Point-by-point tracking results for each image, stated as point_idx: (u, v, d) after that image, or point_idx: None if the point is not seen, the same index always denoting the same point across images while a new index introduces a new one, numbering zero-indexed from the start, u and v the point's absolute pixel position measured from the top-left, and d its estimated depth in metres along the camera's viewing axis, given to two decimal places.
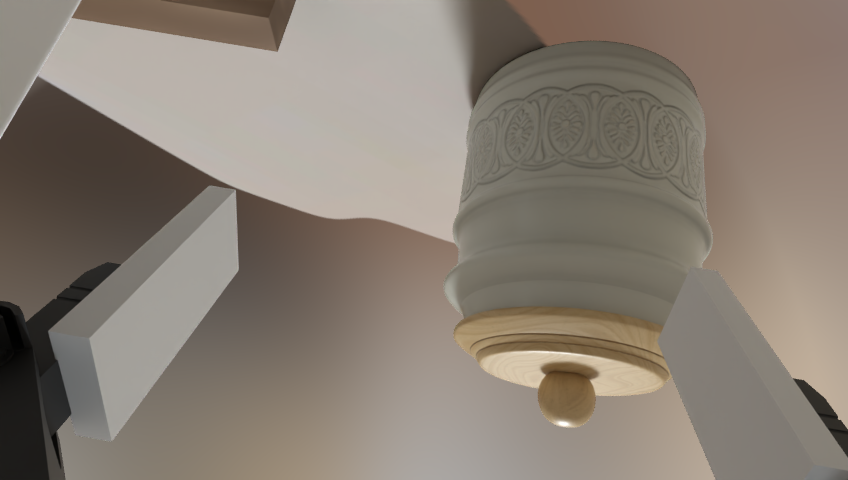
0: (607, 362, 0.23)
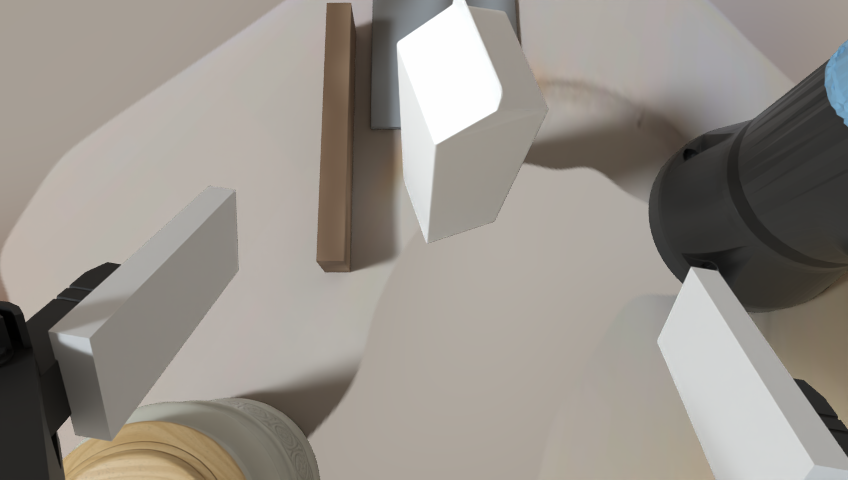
0: None
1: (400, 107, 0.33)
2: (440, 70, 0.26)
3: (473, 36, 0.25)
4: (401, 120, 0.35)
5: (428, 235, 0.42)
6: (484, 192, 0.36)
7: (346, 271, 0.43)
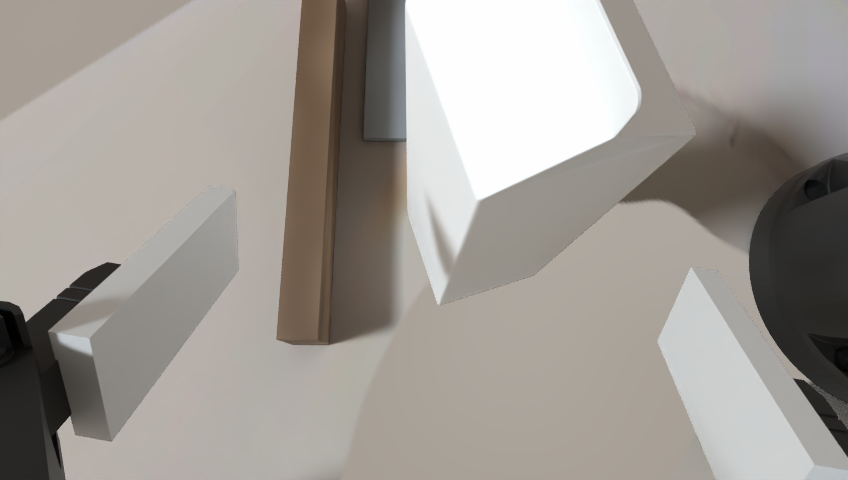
0: None
1: (407, 116, 0.20)
2: (490, 52, 0.13)
3: None
4: (408, 136, 0.22)
5: (442, 299, 0.29)
6: (535, 250, 0.23)
7: (323, 344, 0.30)
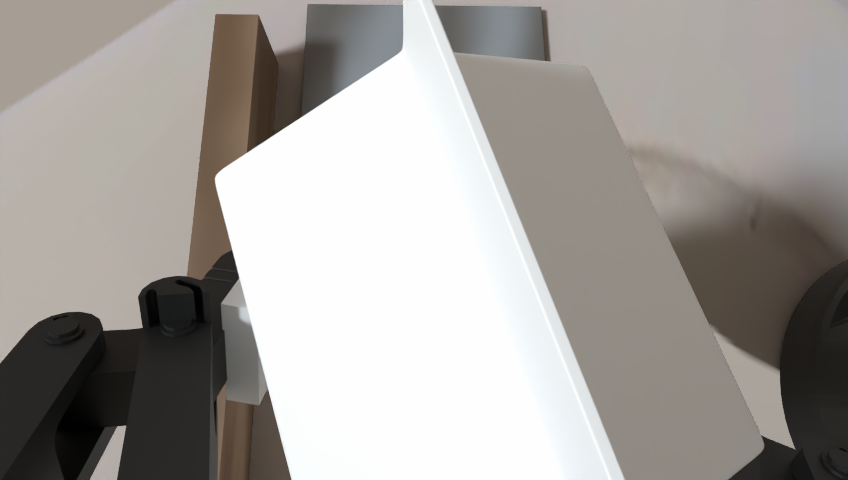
0: None
1: None
2: (352, 313, 0.07)
3: (491, 222, 0.05)
4: None
5: None
6: None
7: None
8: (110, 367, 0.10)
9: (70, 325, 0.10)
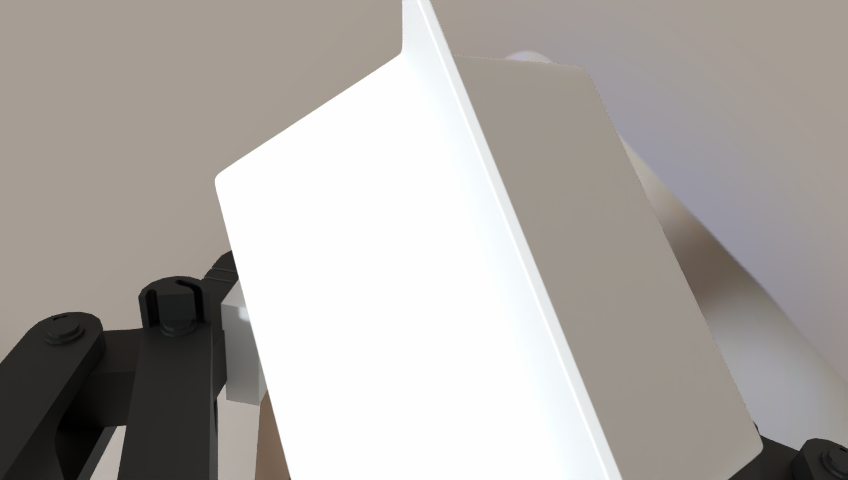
0: None
1: None
2: (351, 314, 0.07)
3: (489, 225, 0.05)
4: None
5: None
6: None
7: None
8: (110, 367, 0.10)
9: (70, 325, 0.10)
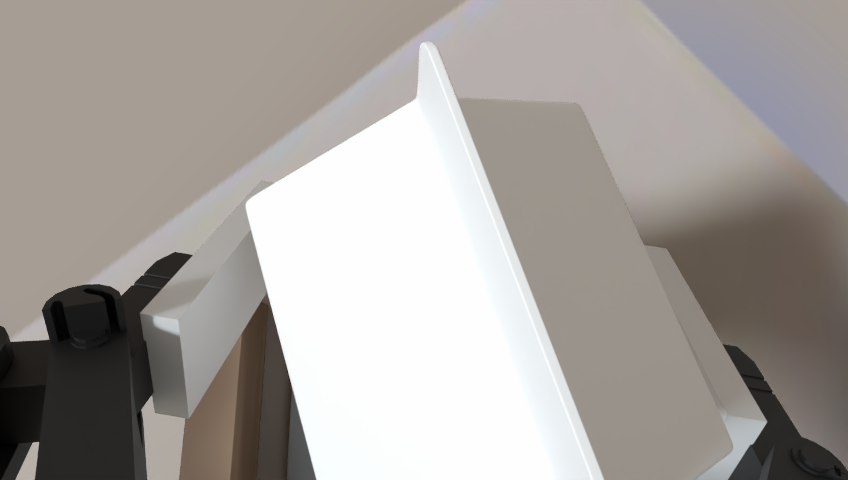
0: None
1: None
2: (369, 327, 0.07)
3: (493, 257, 0.06)
4: None
5: None
6: None
7: None
8: (14, 381, 0.09)
9: None
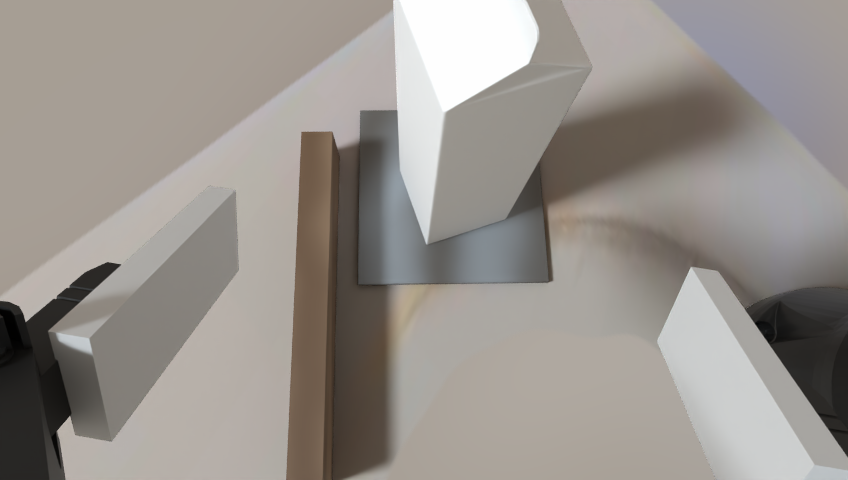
0: None
1: (396, 75, 0.27)
2: (450, 13, 0.20)
3: None
4: (397, 93, 0.28)
5: (429, 235, 0.35)
6: (499, 182, 0.30)
7: None
8: None
9: None
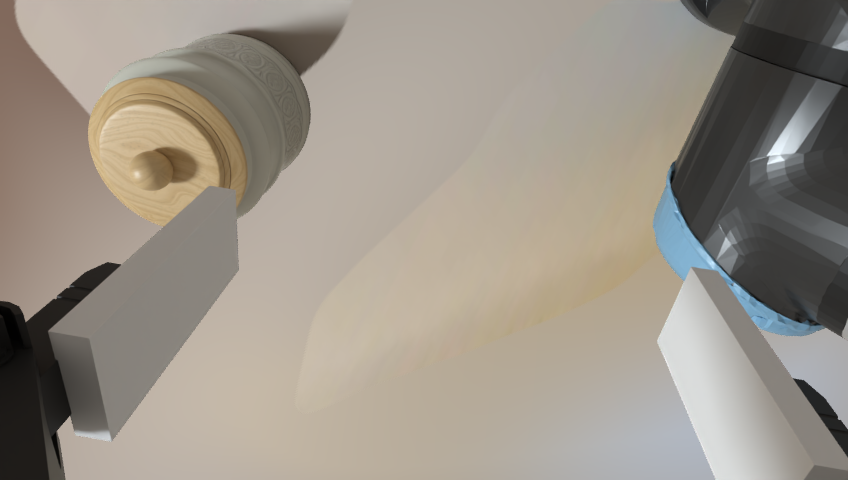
0: (212, 182, 0.37)
1: None
2: None
3: None
4: None
5: None
6: None
7: None
8: None
9: None
